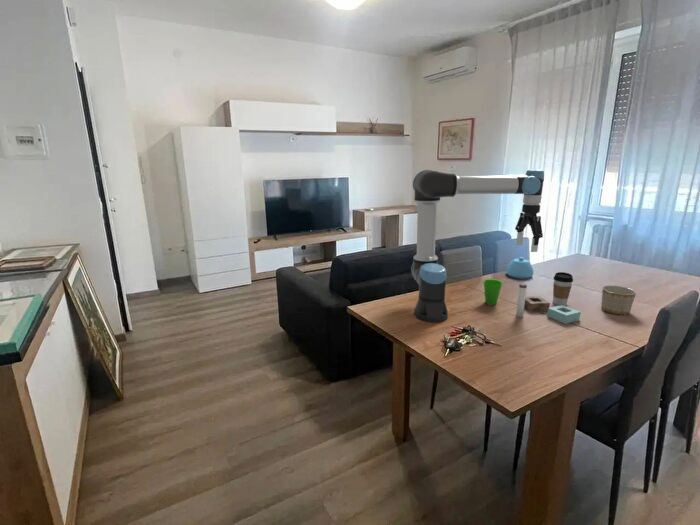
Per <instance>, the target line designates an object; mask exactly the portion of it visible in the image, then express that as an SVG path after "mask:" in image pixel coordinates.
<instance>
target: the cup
mask: <svg viewBox="0 0 700 525" xmlns="http://www.w3.org/2000/svg"><path fill="white" fill-rule="evenodd" d="M482 282H483V284H484V286H483V287H484V300H485V304H487V305H493V306H494V305H496V304H497V302H498V300H499V295H500V292H501V288H502V285H503V284H504V283H503V281H501V280H499V279H493V278H487V279H484V280H482Z"/></svg>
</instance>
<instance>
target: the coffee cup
mask: <svg viewBox="0 0 700 525" xmlns="http://www.w3.org/2000/svg"><path fill="white" fill-rule="evenodd" d="M573 282H574V278H573V275H572V274H571V273H568V272H564V271H563V272H562V271H558V272H556V273H555V274H554V277H553V284H552V285H553V293H552V294H553V295H552V296H553V297H552V304H554V305H555V306H560V305H564V306H566V305H567V304H568V300H569V296H570V293H571V289H572V283H573Z"/></svg>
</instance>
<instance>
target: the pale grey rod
mask: <svg viewBox="0 0 700 525" xmlns="http://www.w3.org/2000/svg"><path fill="white" fill-rule="evenodd" d="M527 286H528V285H527V284H525V283H519V285H518V293H517V303H516V309H515V310H516V311H515V312H516V313H515V316H516V317H517V318H524V312H525V311H524V310H525V307H524V305H525V297H527Z"/></svg>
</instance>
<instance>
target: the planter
mask: <svg viewBox="0 0 700 525" xmlns="http://www.w3.org/2000/svg"><path fill="white" fill-rule="evenodd" d="M601 292H602V294H601V303H600V304H601V309H602V310H603V311H604V312H606V313H608V312H609V313H608V314H612V313H613V315H617V314H620V315H619V316H624V314H626V315H628V314H630V312H631V310H632V306H633V304H634V300H635V298H636V293H637V291H636V290H634V289H632V288H629V287H624V286H621V285H612V284H611V285H603V287H602V291H601Z"/></svg>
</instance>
